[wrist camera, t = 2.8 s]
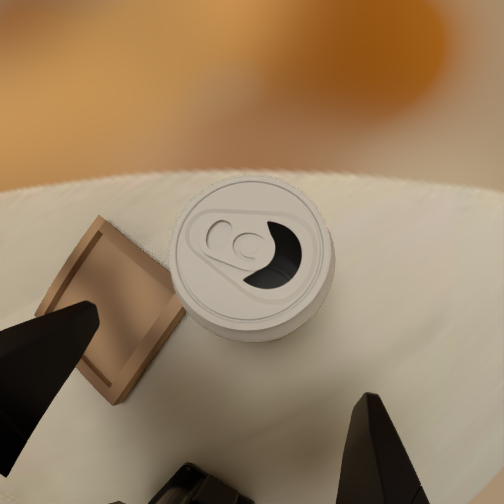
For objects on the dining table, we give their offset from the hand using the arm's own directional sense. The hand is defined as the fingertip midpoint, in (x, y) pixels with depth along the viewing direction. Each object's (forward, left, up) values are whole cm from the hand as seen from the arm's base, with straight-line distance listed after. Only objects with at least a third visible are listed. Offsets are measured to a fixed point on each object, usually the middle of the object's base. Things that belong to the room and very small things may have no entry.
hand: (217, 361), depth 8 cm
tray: (-4, +11, -13) cm, 17 cm away
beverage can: (+4, +1, -13) cm, 13 cm away
